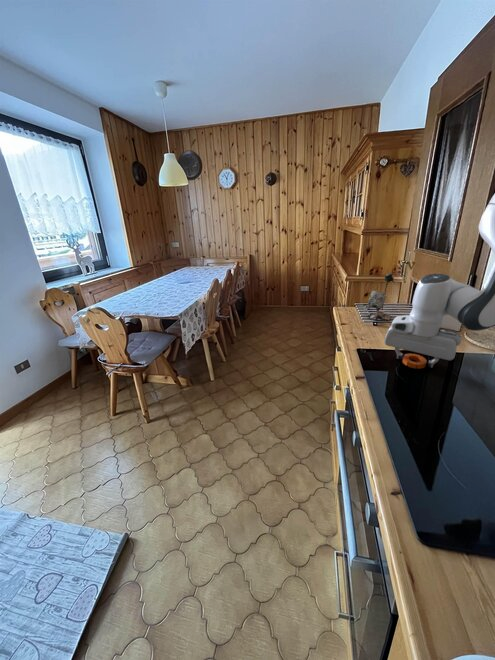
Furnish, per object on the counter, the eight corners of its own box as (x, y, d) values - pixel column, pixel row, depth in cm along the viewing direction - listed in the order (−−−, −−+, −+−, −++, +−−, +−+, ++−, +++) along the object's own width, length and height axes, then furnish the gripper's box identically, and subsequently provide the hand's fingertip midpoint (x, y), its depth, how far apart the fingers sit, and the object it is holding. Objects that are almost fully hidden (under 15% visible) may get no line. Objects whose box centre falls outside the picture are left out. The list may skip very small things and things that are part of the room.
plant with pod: (366, 311, 134) (372, 270, 125) (392, 316, 128) (400, 273, 119) (362, 318, 128) (367, 275, 119) (388, 323, 122) (397, 278, 113)
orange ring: (426, 361, 96) (427, 357, 95) (423, 370, 91) (424, 366, 91) (404, 355, 100) (405, 351, 99) (400, 364, 95) (401, 360, 94)
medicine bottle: (440, 321, 121) (448, 294, 116) (461, 324, 117) (469, 297, 111) (437, 327, 116) (445, 300, 111) (458, 331, 112) (467, 303, 107)
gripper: (464, 329, 85) (452, 366, 92) (391, 315, 97) (384, 350, 103) (462, 337, 81) (450, 376, 87) (386, 322, 92) (380, 358, 99)
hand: (414, 362), depth 95 cm, fingers open, 8 cm apart
